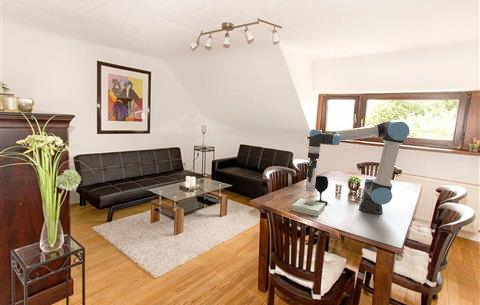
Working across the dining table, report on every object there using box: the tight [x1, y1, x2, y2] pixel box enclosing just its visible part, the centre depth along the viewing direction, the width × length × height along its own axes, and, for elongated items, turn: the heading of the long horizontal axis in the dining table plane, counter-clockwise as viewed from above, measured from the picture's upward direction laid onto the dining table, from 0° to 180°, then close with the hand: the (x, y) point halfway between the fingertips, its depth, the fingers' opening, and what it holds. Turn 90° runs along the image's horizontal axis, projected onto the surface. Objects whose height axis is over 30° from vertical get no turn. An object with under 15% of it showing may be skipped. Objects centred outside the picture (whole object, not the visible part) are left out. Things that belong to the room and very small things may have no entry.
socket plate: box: [291, 197, 326, 217], centre depth 182 cm, size 18×18×4 cm
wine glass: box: [315, 175, 329, 206], centre depth 195 cm, size 10×10×20 cm
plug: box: [305, 167, 318, 193], centre depth 179 cm, size 5×5×16 cm
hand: (310, 185), depth 179 cm, fingers closed on plug, 5 cm apart
